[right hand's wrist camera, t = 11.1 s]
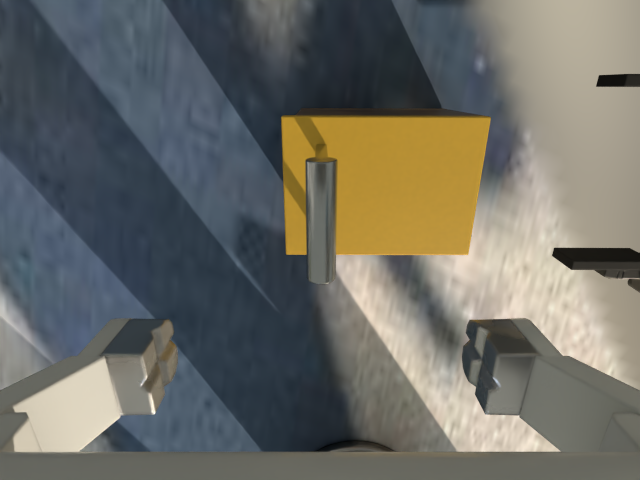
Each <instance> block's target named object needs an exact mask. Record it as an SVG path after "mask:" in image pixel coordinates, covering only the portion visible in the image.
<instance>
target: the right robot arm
mask: <svg viewBox="0 0 640 480" xmlns="http://www.w3.org/2000/svg"><path fill="white" fill-rule="evenodd" d="M173 334H174V329H173V325H172V322H171V321H170V320H169V319H131V318H123V319H112V320H110V321H109V322H108V323H107V324H106V325H105V326H104V327H103V328H102V330H101V331H100V332H99V333H98V334H97V335H96V336H95V337H94V338H93V339H92V340H91V342H90V343H89V344H88V345H87V346H86V347H85V348H84V349H83V350H82V351H81V352H80V353H79V355H78V356H70V357H68V358H66V359H64V360H62V361H60V362H58V363H56V364H54V365H52V366H50V367H48V368H46V369H43V370H41V371H39V372H37V373H35V374H33V375H31V376H29V377H27V378H25V379H23V380H21V381H19V382H17V383H15V384H13V385H11V386H9V387H6V388H4V389H2V390H0V480H640V390H637V389H635V388H633V387H631V386H629V385H627V384H625V383H623V382H621V381H619V380H617V379H615V378H613V377H611V376H609V375H607V374H605V373H603V372H601V371H598V370H596V369H594V368H592V367H590V366H588V365H586V364H584V363H582V362H580V361H578V360H576V359H574V358H572V357H570V356H562V355H561V353H560V352H559V351H558V350H557V349H556V348H555V347H554V346H553V345H552V344H551V343H550V341H549V340H548V339H547V338H546V337H545V336H544V335H543V334H542V333H541V332H540V331H539V329H538V328H537V327H536V326H535V325H534V324H533V323H532V322H531V321H530V320H528V319H526V318H517V319H489V320H469V322H468V324H467V329H466V334H467V336H468V337H469V339H470V340H469V341H468V342H467V343H466V344H465V345H464V346H463V353H462V362H463V369H464V372H465V375H466V377H467V379H468V381H469V382H470V383H472V384H473V385H474V386H476V391H475V395H476V397H477V399H478V401H479V403H480V405H481V407H482V409H483V411H484V413H485V414H490V415H520V418H521V419H523V420H524V421H525V422H526V423H527V424H529V425H530V426H531V427H532V428H533V429H535V430H536V431H537V432H538V433H540V434H541V435H542V436H543V437H544V438H546V439H547V440H548V441H549V442H550V443H552V444H553V445H554V446H555V447H556V448H558V449H559V450H560V451H561V452H79V451H80V450H81V449H82V448H84V447H85V446H86V445H87V444H89V443H90V442H91V441H92V440H93V439H95V438H96V437H97V436H98V435H99V434H101V433H102V432H103V431H104V430H105V429H107V428H108V427H109V426H110V425H112V424H113V423H114V422H115V421H116V420H118V419H119V418H120V415H149V414H155V413H156V411H157V409H158V407H159V405H160V403H161V401H162V399H163V397H164V395H165V391H164V386H166V385H167V384H168V383H170V382H171V381H172V379H173V377H174V375H175V373H176V368H177V364H178V352H177V346H176V345H175V344H174V343H173V342H172V341H171V340H170V339H171V337H172V336H173Z"/></svg>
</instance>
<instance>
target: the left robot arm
mask: <svg viewBox="0 0 640 480" xmlns="http://www.w3.org/2000/svg"><path fill="white" fill-rule="evenodd" d="M596 86H597V87H640V74H618V75H599V78H598V81H597V85H596ZM552 256H553V257H555V258H556V259H557V260H559V261H560V262H561V263H563V264H564V265H566V266H567V267H568V268H570V269H571V270H595V271H596V272H598V273H599V274H601V275H602V276H604V277H606V278H609V279H629V280H628V285H629V286H631V287H632V288H634V289H635V290H637V291H638V292H640V253H638V252H636V251H634V250H632V249H630V248H554V251H553V254H552ZM317 452H394V451H392V450H390V449H389V448H387V447H384V446H382V445H379V444H375V443H371V442H364V441H347V442H340V443H336V444H332V445H329V446H326V447H324V448H322V449H320V450H318V451H317Z"/></svg>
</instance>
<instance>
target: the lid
mask: <svg viewBox="0 0 640 480" xmlns="http://www.w3.org/2000/svg"><path fill="white" fill-rule="evenodd" d="M490 119H491V117H488V116H360V115H283V116H282V117H281V126H282V155H283V183H284V212H285V240H286V254H307V279H308V280H309V281H310V282H312V283H315V284H328V283H331V282H333V281H334V280H335V275H336V255H468V252H469V246H470V240H471V234H472V228H473V222H474V216H475V210H476V204H477V198H478V192H479V186H480V179H481V173H482V167H483V161H484V155H485V149H486V143H487V137H488V131H489V125H490Z"/></svg>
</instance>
